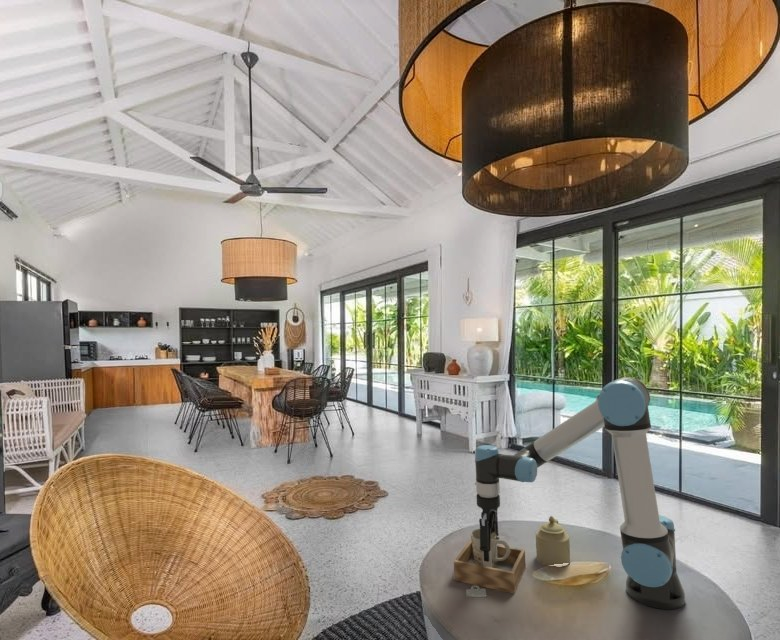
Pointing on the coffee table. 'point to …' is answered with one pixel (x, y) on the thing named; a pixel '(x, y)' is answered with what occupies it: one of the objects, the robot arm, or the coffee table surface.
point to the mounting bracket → (476, 592)
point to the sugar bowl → (552, 543)
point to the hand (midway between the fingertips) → (490, 565)
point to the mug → (479, 553)
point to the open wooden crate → (491, 569)
